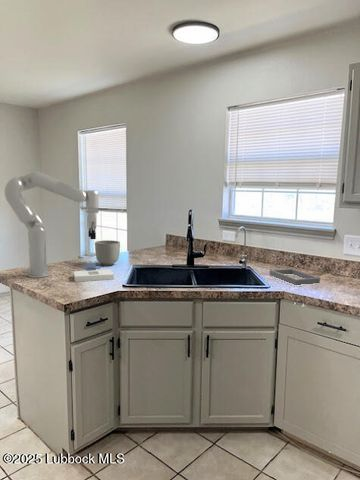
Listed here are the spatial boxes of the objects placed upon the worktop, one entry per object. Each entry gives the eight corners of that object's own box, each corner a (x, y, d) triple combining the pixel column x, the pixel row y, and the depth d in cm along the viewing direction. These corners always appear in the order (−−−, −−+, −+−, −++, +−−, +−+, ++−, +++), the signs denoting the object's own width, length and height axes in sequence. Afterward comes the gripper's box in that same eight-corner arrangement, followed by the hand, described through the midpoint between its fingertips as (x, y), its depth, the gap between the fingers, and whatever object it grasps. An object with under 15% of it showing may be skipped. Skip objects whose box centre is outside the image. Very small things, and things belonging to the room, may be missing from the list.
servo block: (82, 274, 226) (82, 262, 225) (81, 272, 230) (81, 261, 229) (100, 273, 230) (100, 261, 229) (99, 271, 234) (99, 260, 233)
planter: (91, 263, 257) (90, 241, 255) (113, 261, 267) (113, 239, 265) (101, 268, 244) (101, 244, 241) (124, 265, 254) (124, 242, 251)
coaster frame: (295, 286, 210) (296, 280, 209) (269, 275, 235) (269, 269, 234) (319, 284, 216) (320, 278, 215) (291, 274, 240) (291, 268, 240)
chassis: (75, 281, 209) (75, 276, 208) (73, 276, 221) (73, 271, 220) (113, 279, 216) (113, 274, 216) (109, 274, 228) (109, 269, 228)
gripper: (84, 209, 232) (84, 236, 234) (87, 211, 216) (87, 240, 218) (96, 209, 234) (96, 236, 237) (100, 211, 218) (100, 239, 221)
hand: (92, 237), depth 227 cm, fingers open, 9 cm apart
